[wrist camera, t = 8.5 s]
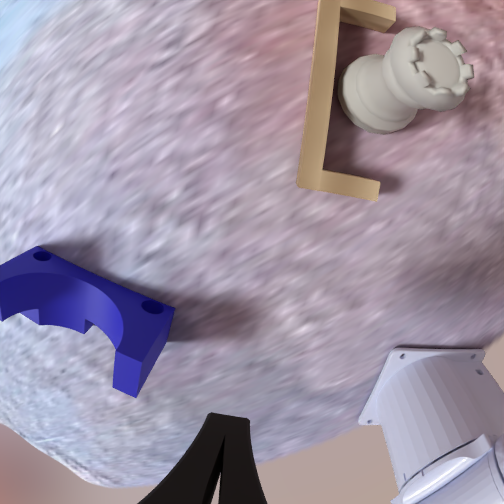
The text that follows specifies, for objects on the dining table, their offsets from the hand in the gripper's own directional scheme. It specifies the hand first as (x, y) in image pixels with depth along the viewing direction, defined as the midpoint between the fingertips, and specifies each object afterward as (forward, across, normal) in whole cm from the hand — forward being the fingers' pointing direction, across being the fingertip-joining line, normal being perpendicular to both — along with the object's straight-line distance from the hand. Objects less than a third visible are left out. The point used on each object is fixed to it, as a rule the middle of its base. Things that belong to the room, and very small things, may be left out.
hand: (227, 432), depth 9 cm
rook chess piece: (+10, -5, -13) cm, 17 cm away
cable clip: (+10, +11, +2) cm, 15 cm away
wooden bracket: (+10, -4, -13) cm, 17 cm away
